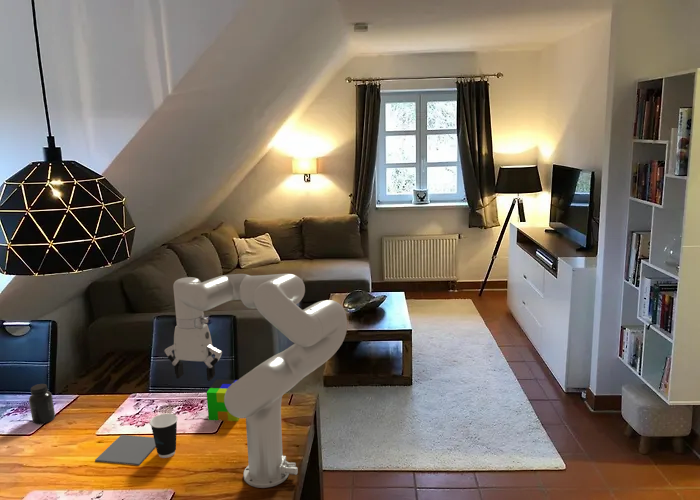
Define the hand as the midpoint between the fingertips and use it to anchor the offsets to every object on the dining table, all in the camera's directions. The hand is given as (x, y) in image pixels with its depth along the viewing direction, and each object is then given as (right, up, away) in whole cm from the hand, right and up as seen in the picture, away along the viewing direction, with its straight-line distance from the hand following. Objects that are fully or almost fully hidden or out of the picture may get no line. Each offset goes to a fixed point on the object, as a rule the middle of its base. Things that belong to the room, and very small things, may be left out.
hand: (195, 377), depth 168 cm
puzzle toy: (+3, -19, +30) cm, 36 cm away
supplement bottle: (-58, -20, +28) cm, 68 cm away
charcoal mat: (-22, -24, +9) cm, 34 cm away
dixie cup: (-10, -24, +7) cm, 27 cm away
